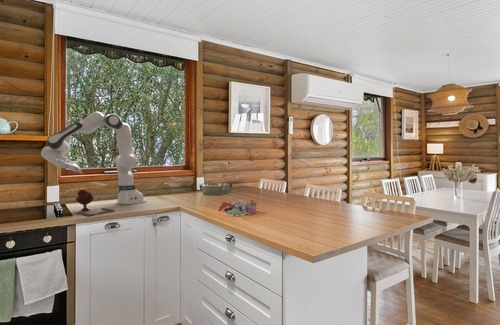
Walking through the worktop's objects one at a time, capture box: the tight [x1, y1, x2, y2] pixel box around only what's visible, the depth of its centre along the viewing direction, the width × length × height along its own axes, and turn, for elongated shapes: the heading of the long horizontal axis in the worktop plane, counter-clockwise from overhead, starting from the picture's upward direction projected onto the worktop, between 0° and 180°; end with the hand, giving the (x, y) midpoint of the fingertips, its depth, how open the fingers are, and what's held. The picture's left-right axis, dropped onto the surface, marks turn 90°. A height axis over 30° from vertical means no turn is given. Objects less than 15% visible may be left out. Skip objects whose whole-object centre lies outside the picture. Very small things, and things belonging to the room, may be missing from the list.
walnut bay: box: [76, 207, 115, 217], centre depth 207 cm, size 18×14×1 cm
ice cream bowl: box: [75, 189, 94, 212], centre depth 214 cm, size 11×11×15 cm
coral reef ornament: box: [218, 199, 258, 215], centre depth 207 cm, size 25×24×9 cm
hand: (77, 171), depth 214 cm, fingers open, 8 cm apart
